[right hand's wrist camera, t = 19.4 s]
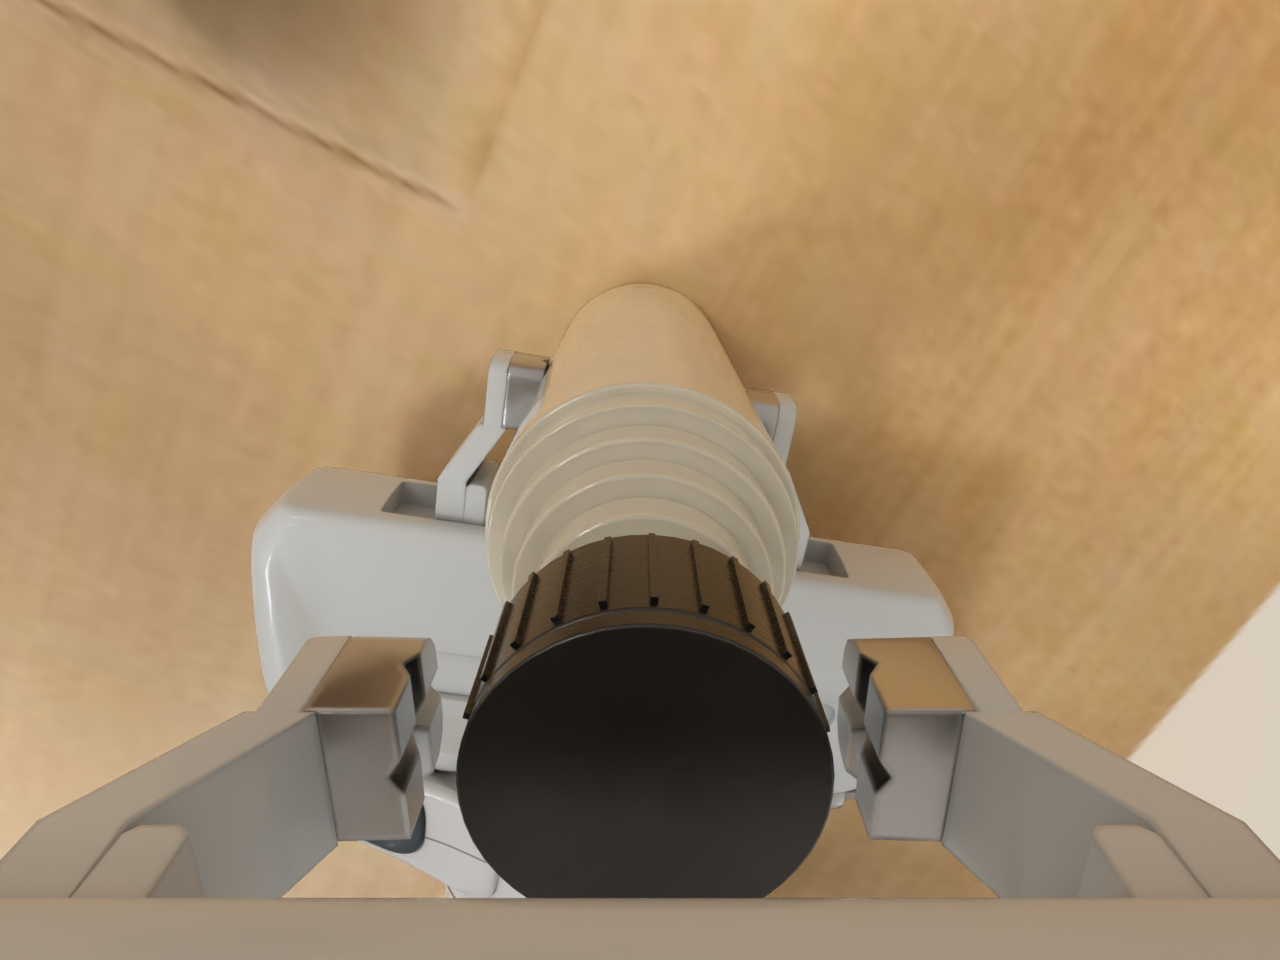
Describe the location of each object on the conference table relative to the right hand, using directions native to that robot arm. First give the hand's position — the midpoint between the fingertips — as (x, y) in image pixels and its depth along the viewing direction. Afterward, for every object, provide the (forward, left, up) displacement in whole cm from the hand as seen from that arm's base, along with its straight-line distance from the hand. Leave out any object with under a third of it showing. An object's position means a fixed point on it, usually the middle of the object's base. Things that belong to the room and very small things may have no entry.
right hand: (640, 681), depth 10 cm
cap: (0, 0, +2) cm, 2 cm away
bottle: (0, 0, -18) cm, 18 cm away
